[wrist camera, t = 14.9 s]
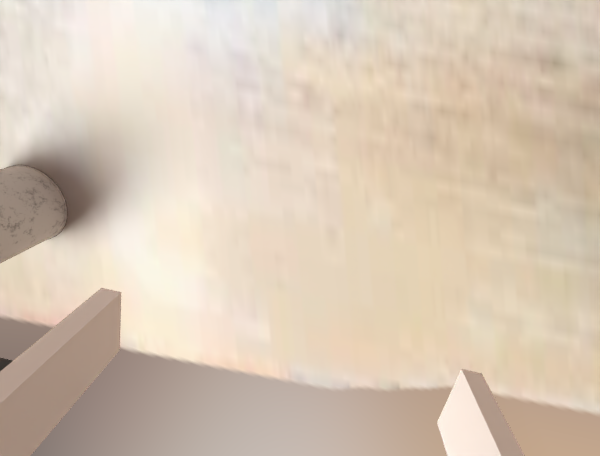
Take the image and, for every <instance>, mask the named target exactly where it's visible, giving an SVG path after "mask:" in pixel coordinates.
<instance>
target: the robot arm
mask: <svg viewBox="0 0 600 456" xmlns="http://www.w3.org/2000/svg"><path fill="white" fill-rule="evenodd" d="M120 319H121V292H117V291H113V290H109V289H104V288H101V289H100V290H99V291H97V292H96V293H95V294H94V295H92V296H91V297H90V298H89V299H88V300H86V301H85V302H84V303H83V304H82V305H80V306H79V307H78V308H77V309H75V310H74V311H73V312H72V313H71V314H69V315H68V316H67V317H66V318H65V319H63V320H62V321H61V322H60V323H58V324H57V325H56V326H55V327H54V328H52V329H51V330H50V331H49V332H48V333H47V334H45V335H44V336H43V337H42V338H41V339H39V340H38V341H37V342H35V343H34V344H33V345H32V346H31V347H30V348H28V349H27V350H26V351H25V352H23V353H22V354H21V355H20V356H19V357H17V358H16V359H15V360H14V361H12V360H8V359H3V358H0V456H30V455H31V454H32V453H33V452H34V451H35V450H36V448H37V447H38V446H39V445H40V444H41V443H42V441H43V440H44V439H45V438H46V437H47V435H48V434H49V433H50V432H51V431H52V430H53V428H54V427H55V426H56V425H57V423H58V422H59V421H60V420H61V419H62V418H63V417H64V415H65V414H66V413H67V412H68V411H69V409H70V408H71V407H72V406H73V405H74V404H75V402H76V401H77V400H78V399H79V398H80V396H81V395H82V394H83V393H84V392H85V391H86V389H87V388H88V387H89V386H90V385H91V383H92V382H93V381H94V380H95V379H96V378H97V376H98V375H99V374H100V373H101V372H102V370H103V369H104V368H105V367H106V366H107V365H108V363H109V362H110V361H111V360H112V359H113V358H114V356H115V355H116V354H117V353H118V352H119V350H120ZM438 427H439V430H440V433H441V436H442V440H443V443H444V446H445V449H446V453H447V456H525V455H524V453H523V452H522V450H521V448H520V446H519V444H518V442H517V440H516V438H515V436H514V434H513V432H512V430H511V429H510V427H509V425H508V423H507V421H506V419H505V417H504V415H503V413H502V412H501V409H500V408H499V406H498V404H497V402H496V400H495V398H494V396H493V394H492V392H491V390H490V388H489V387H488V385H487V383H486V381H485V379H484V377H483V375H482V374H481V373H477V372H472V371H468V370H464V369H461V371H460V373H459V376H458V378H457V380H456V382H455V385H454V387H453V389H452V391H451V393H450V396H449V398H448V400H447V402H446V404H445V407H444V409H443V411H442V413H441V415H440V418H439V420H438Z"/></svg>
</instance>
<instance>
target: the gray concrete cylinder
mask: <svg viewBox="0 0 600 456" xmlns="http://www.w3.org/2000/svg"><path fill="white" fill-rule="evenodd" d="M66 220H67V206H66V202H65V199H64V197H63V194H62V192H61V191H60V189H59V188H58V186H57V185H56V184H55V183H54V182H53V181H52V180H51V179H50V178H49V177H48V176H47V175H45V174H44V173H42V172H41V171H39V170H37V169H35V168H32V167H28V166H22V165H15V166H9V167H7V168H4V169H0V263H2V262H4V261H6V260H8V259H10V258H12V257H14V256H15V255H17V254H19V253H21V252H23V251H25V250H27V249H29V248H31V247H33V246H35V245H37V244H39V243H41V242H43V241H45V240H47V239H50V238H52V237H55V236H56V235H57V234H59V233H60V232H61V231H62V229H63V228H64V226H65V224H66Z"/></svg>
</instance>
